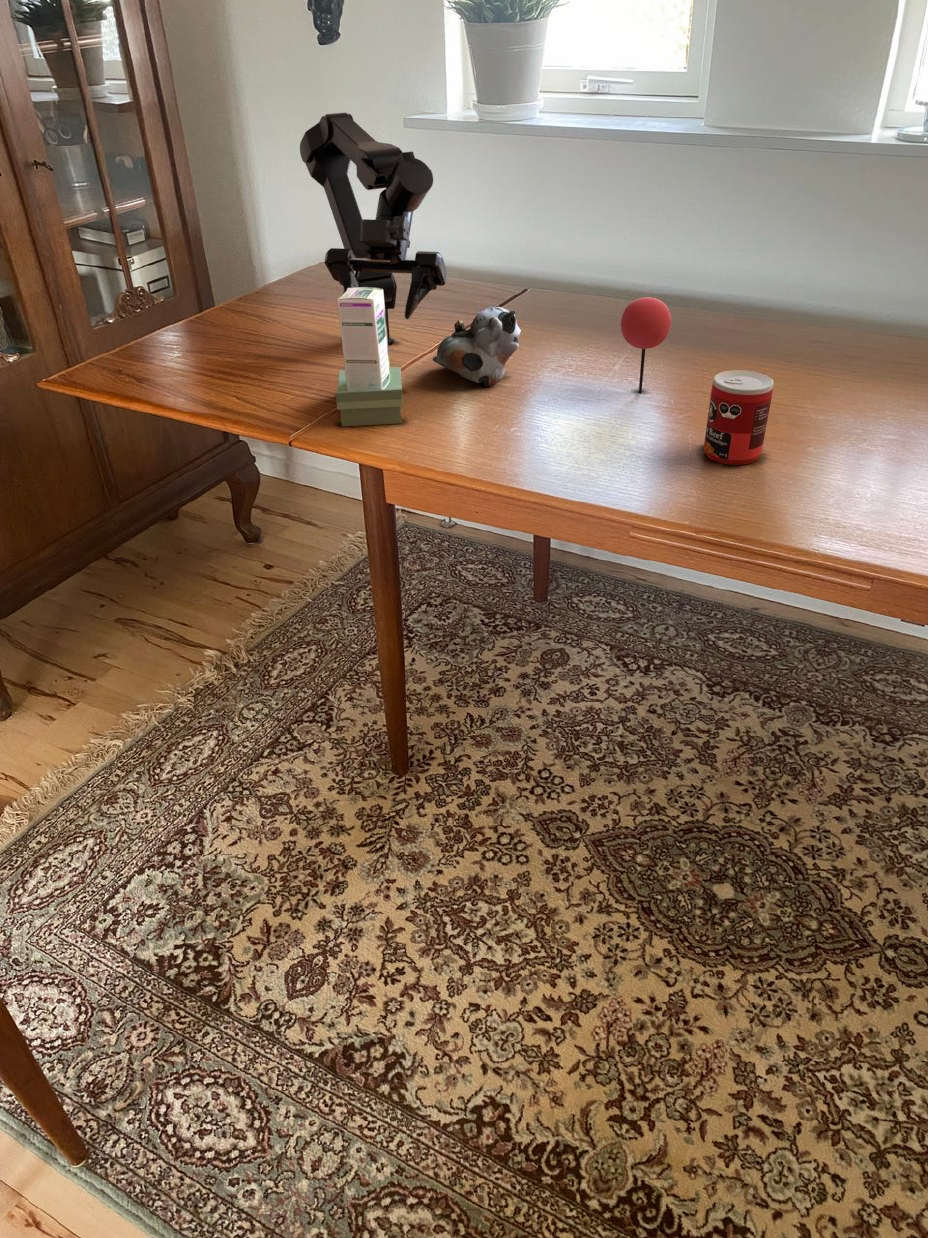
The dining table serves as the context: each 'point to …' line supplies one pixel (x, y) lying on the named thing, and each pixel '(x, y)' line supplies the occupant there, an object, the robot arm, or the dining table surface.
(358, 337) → the syrup box
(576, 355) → the dining table surface
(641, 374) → the lollipop
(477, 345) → the lucky cat figurine
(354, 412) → the green lidded box
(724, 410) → the canned food
